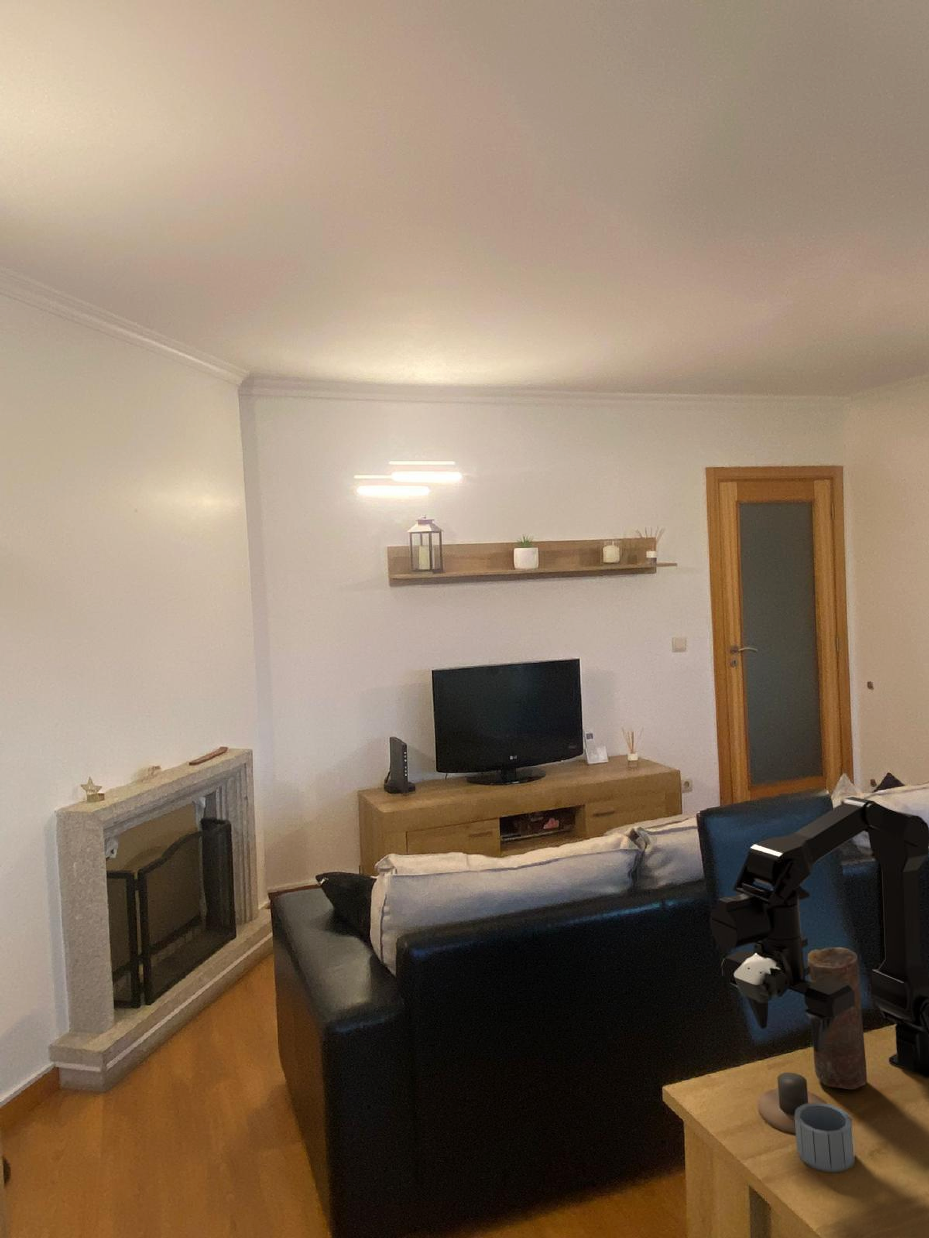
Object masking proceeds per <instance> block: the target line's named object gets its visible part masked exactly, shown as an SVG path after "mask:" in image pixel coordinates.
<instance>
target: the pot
mask: <svg viewBox="0 0 929 1238" xmlns="http://www.w3.org/2000/svg"><path fill="white" fill-rule="evenodd" d="M794 1118H795V1130H796V1133H795V1141H796V1142H795V1143H796V1150H797V1154H798V1156H799V1158H800V1160H801V1161H803V1162H804V1163H805V1164H806V1165H807V1166H809V1167H810V1168H813V1169H815V1170H817V1171H821V1172H826V1173H842V1172H846V1171H849V1170H850V1169H852V1167H853V1166H854V1164H855V1161H856V1160H855V1143H854V1132H853V1130H854V1129H853V1119H852V1118H851V1117H850V1116H849V1114H848V1113H847V1111H845V1110H843V1109H841V1108H840V1107H837V1106H835V1105H832V1104H829V1103H827V1104H824V1103H817V1102H816V1103H807V1104H803V1105H802V1106H800V1107H798V1108H797V1109H796V1110H795V1116H794Z"/></svg>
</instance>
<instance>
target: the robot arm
mask: <svg viewBox="0 0 929 1238" xmlns="http://www.w3.org/2000/svg"><path fill="white" fill-rule="evenodd" d="M862 832H865V833H867V835H868V840H869V846H870V849H871V851H872V853H873V855H874V856H875V858H876V860H877V862H878V863H879V866H880V867H881V881H882V882H881V883H882V902H883V903H882V904H883V905H882V906H883V930H884V933H883V934H884V935H883V936H884V955H885V956H884V960H883V962H882V963H881V964H880V966H879V968H878V969H872V971H871V973H870V977H871V991H870V995H871V996H873V998H874V1003H875V1005H876V1006H877V1007H878V1008H879V1010H880V1013H881V1015H882V1017H883V1018H884V1019H888V1020H890V1021H892V1022H894V1023H895V1027H894V1030H895V1049H896V1053H894V1054H893V1055H891V1056H889V1057H888V1062H889V1063H890V1064H892V1065H895V1066H897V1067H900V1068H902V1069H904V1070H908V1071H910V1072H912V1073H914V1074H916V1075H919V1076H921V1077H924V1078H926V1079H927V1078H928V1079H929V975H928V973H927V972H926V970H925V967H924V966H923V964H922V957H921V956H922V955H921V951H922V950H921V931H920V930H921V929H920V928H921V927H920V905H919V904H920V903H919V900H920V899H919V881H918V879H919V878H918V872H919V871H918V870H919V869H920V867H921V866H922V864H923V863H924V862H925V861H926V858H927V857H928V855H929V825H928V822H926V821H925V820H924V819H923V818H922V817H921V816H919V815H917V814H916V815H915V814H911V813H906V812H901V811H896V810H893V809H890V808H889V807H888V808H887V807H885V806H883V805H881V804H879V803H878V802H876V801H874V800H870V799H866V798H860V797H857V796H855V797H854V796H850V797H846V798H844V799H843V800H842V802H841V803H840V804H839V805H837V806H836V807H834V808H833V809H831V810H830V811H828V812H825V814H823V815H822V816H820V817H818V818H817V819H815V820H813V821H812V822H810V823H808V824H807V825H805V826H804V827H802V828H800V829H799V830H797V831H795V832H794V833H791V834H788V835H784V836H783V835H782V836H776V837H771V838H768V839H765V840H763V841H759V842H757V843H754V844H752V846H750V848H749V849H748V851H747V857H746V859H745V861H744V863H743V866H742V868H741V870H740V872H739V874H738V877H737V880H736V881H735V884H734V886H733V889H732V890H733V892H734V893H737V895H733V896H729V897H728V896H726V897H721V898H718V899H717V900H716V901H717V907H716V908H714V909H713V910H712V911H711V913H710V914H711V915H710V918H709V928H710V932H711V934H712V937H713V938H714V940H715V941H716V943H717V944H718V945H719V946H720V947H721V948H722V949H724V950H727V951H731V950H735V949H737V948H742V947H744V946H748V945H751V944H753V951H751V950H748V949H745V948H743V949H741V950H739V951H736V952H733V953H732V954H730V955H727V956H724V958H723V960H722V962H721V973H722V974H721V975H722V978H724V979H727V980H729V984H731V985H732V986H734V987H736V988H738V990H739V993H740V995H741V996H743V997H745V998H746V1001H748V1004H749V1006H750V1009H751V1010H752V1013H753V1015H754V1017H755V1020H756V1022H757V1024H758V1026H759V1028H760V1029H761V1030H763V1029H765V1028H767V1025H768V1017H769V1002H770V1000H772V997H773V996H774V997H777V998H781V997H782V996H783V995H784V994H785V993H786V992H787V991H788V990H790V991H792V992H795V993H798V994H802V995H804V1004H805V1005H806V1007H807V1009H804V1013H805V1014H806V1015H807V1016H808V1017H809V1018H810V1026H811V1036H812V1037H811V1038H812V1046H813V1045H814V1050H815V1052H817V1053H818V1052H820V1051H821V1050H822V1048H823V1045H824V1043H825V1040H826V1038H827V1035H828V1033H829V1030H830V1027H831V1025H832V1023H833V1021H834V1019H835V1017H836V1016H837V1015H838V1014H840V1013H842V1012H844V1011H846V1010H847V1009H849V1008H851V1007H853V1006H854V1005H855V996H854V991H853V989H852V988H851V987H850V986H849V985H847V984H845V983H842V982H839V981H836V980H833V979H830V978H827V977H826V978H824V979H822V980H820V981H818V982H817V983H812V982H809V980H806V976H809V974H810V973H811V972H810V966H808V964H805V959H804V951H803V950H804V948H805V947H807V946H809V942H808V937H804V936H802V926H801V917H800V916H801V915H800V914H801V913H800V904H799V903H800V902H799V901H802V900H805V899H808V898H811V897H810V896H811V894H810V892H808V891H807V890H806V889H805V888H804V887H802V886H801V885H802V884H803V883H804V882H805V881H806V880H807V879H808V878H809V877H810V876H811V875H812V870H813V867H814V865H815V864H816V862H818V861H819V860H821V859H822V858H824V857H825V856H827V855H828V854H830V853H832V852H833V851H835V850H836V849H838V848H839V847H841V846H842V845H844V844H846V843H847V842H849V841H850V840H852V839H853V838H854V837H857V836H858V835H860V834H861V833H862ZM755 882H758V883H760V884H764V885H766V886H769V887H772V888H771V889H768V888H765V887H762V886H761V885H757V884H755Z"/></svg>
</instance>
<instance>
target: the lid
mask: <svg viewBox="0 0 929 1238" xmlns="http://www.w3.org/2000/svg"><path fill="white" fill-rule="evenodd" d="M776 1078H777V1088H773V1089H769V1090H767V1091H766V1092H764V1093H762V1094H761V1095H760V1096H759V1098H758V1100H757V1101H758V1102H757V1109H758V1114H759V1115H760V1117H761V1118H762V1120H763V1121H764V1122H766V1123H767V1124H769V1125H770V1126H771V1127H773V1128H775V1129H777V1130H780V1131H783V1132H787V1133H792V1134H796V1130H795V1118H794V1116H795V1110H796V1109H797V1108H798V1107H800V1106H802V1105H803V1104H807V1103H816V1102H817V1103H824V1104H828V1102H827V1101H825V1099H823V1098H822V1097H820V1096H819V1095H817V1094H815V1093H813V1092H810V1091H808V1081H807V1079H806V1078H805V1077H804V1076H803V1075H801V1074H798V1073H796V1072H795V1073H794V1072H782V1073H781V1074H779V1075H778V1076H777V1077H776Z"/></svg>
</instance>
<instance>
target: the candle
mask: <svg viewBox="0 0 929 1238" xmlns="http://www.w3.org/2000/svg"><path fill="white" fill-rule="evenodd" d="M807 966H810V972H811V973H810V974H808V981H809V982H812V983H817V982H818V981H820V980H822V979H824V978H826V977H827V978H830V979H833V980H836V981H839V982H842V983H845V984H847V985H849V986H850V987H851V988H852V989H853V991H854V996H855V1005H854V1006H853V1007H851V1008H849V1009H847V1010H846V1011H844V1012H842V1013H840V1014H838V1015H837V1016H836V1017H835V1019H834V1021H833V1023H832V1025H831V1027H830V1030H829V1033H828V1035H827V1038H826V1040H825V1043H824V1045H823V1048H822V1050H821V1051H820V1052H818V1053H817V1052H815V1050H814V1045H813V1044H812V1046H813V1047H812V1049H813V1061H814V1062H813V1064H814V1073H815V1076H816V1077H817V1079H818V1080H819V1081H820V1082H821V1083H822V1084H823V1085H824V1086H826V1087H831V1088H837V1089H838V1088H839V1089H846V1090H854V1089H855V1090H856V1089H858V1088H860V1087H862V1086H865V1085H866V1083H867V1081H868V1076H867V1061H866V1060H867V1059H866V1049H865V1047H866V1046H865V1038H864V1025H863V1024H864V1023H863V1016H862V1015H863V1014H862V999H861V987H860V986H861V985H860V973H859V972H860V971H859V959H858V955H857V953H856V952H854V951H852V950H850V949H849V948H845V947H825V948H823V949H814V950H810V952H809V953H807Z"/></svg>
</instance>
